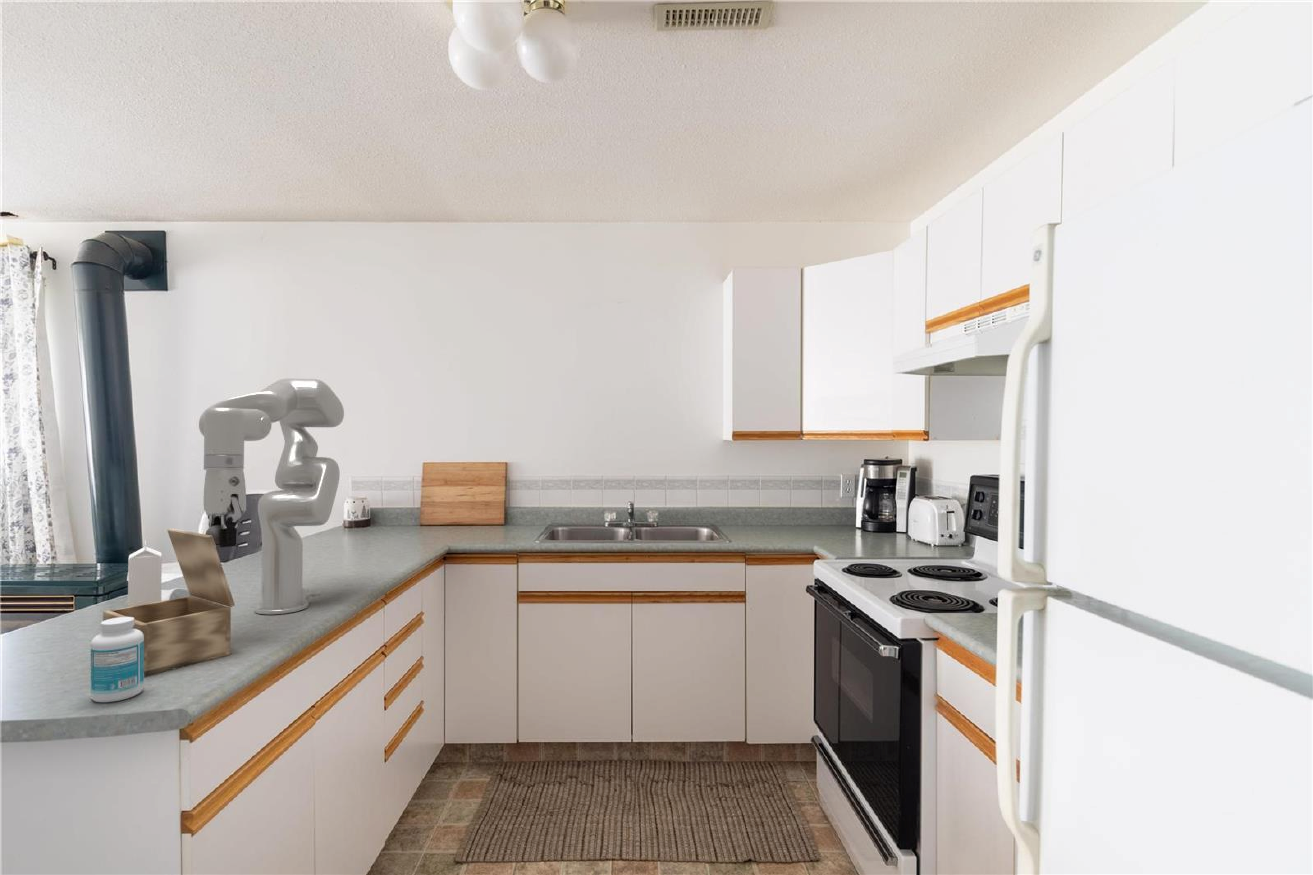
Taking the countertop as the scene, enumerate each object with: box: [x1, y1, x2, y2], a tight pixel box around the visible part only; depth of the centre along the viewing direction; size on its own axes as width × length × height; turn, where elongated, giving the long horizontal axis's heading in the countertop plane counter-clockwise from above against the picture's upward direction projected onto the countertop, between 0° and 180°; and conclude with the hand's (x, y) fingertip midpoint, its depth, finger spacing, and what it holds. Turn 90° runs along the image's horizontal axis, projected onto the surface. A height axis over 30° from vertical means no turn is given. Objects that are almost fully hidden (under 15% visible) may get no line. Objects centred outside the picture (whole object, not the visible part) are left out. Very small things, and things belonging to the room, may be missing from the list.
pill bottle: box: [90, 617, 145, 703], centre depth 119 cm, size 8×7×14 cm
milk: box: [127, 539, 163, 607], centre depth 152 cm, size 6×6×22 cm
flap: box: [167, 525, 236, 608], centre depth 147 cm, size 16×18×7 cm
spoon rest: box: [161, 587, 201, 601], centre depth 175 cm, size 24×12×7 cm, turn 20°
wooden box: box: [102, 596, 232, 678], centre depth 139 cm, size 16×18×10 cm
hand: (222, 544), depth 148 cm, fingers closed on flap, 4 cm apart
